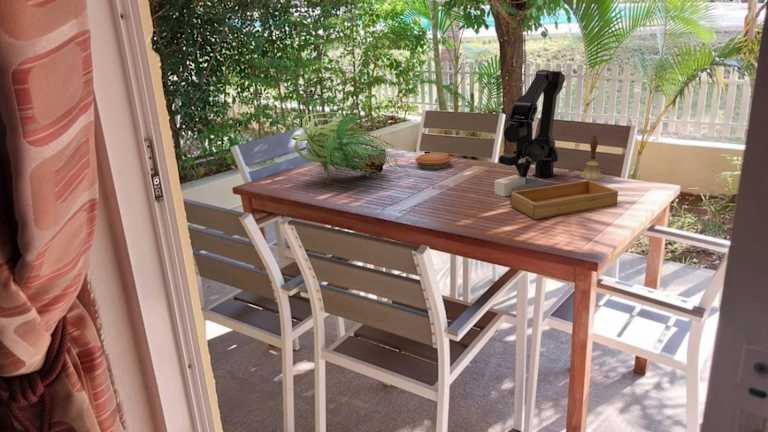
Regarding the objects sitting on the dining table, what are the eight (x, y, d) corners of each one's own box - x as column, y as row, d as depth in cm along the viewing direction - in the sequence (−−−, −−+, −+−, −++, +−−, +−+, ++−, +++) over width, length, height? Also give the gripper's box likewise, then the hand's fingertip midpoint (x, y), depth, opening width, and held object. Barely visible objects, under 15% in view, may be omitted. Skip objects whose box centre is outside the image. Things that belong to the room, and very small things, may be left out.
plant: (416, 166, 226) (322, 131, 206) (368, 221, 247) (278, 194, 227) (402, 106, 248) (315, 69, 228) (358, 161, 269) (275, 131, 249)
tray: (588, 194, 210) (588, 178, 208) (617, 206, 196) (618, 189, 194) (509, 207, 201) (509, 191, 199) (534, 222, 187) (534, 204, 185)
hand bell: (606, 175, 228) (609, 134, 222) (598, 181, 222) (600, 138, 216) (585, 172, 233) (587, 132, 228) (576, 178, 227) (578, 136, 222)
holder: (526, 183, 224) (526, 176, 223) (543, 189, 217) (543, 181, 216) (499, 190, 218) (499, 182, 217) (515, 196, 210) (515, 188, 209)
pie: (454, 162, 260) (454, 150, 259) (449, 171, 246) (449, 159, 244) (418, 162, 264) (418, 150, 262) (412, 171, 250) (411, 159, 248)
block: (515, 188, 219) (515, 174, 218) (525, 191, 215) (525, 177, 214) (494, 193, 215) (494, 180, 213) (504, 197, 210) (504, 183, 209)
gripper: (520, 144, 200) (519, 189, 205) (560, 135, 209) (559, 179, 214) (497, 139, 209) (497, 182, 214) (537, 131, 218) (536, 173, 223)
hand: (523, 179), depth 216 cm, fingers closed
